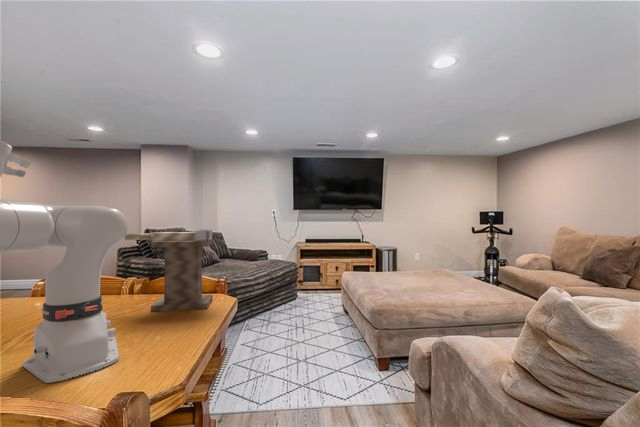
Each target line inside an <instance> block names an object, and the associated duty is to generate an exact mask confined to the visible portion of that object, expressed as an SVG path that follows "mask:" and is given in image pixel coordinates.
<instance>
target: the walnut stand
mask: <svg viewBox="0 0 640 427" xmlns="http://www.w3.org/2000/svg"><path fill="white" fill-rule="evenodd" d="M213 243H214V238H212V239H211V240H209V241H195V240H193V241H151V243H150V244H151V245H150V246H151V248H164V273H163V274H164V278H163V279H164V281H163V282H164V283H163V284H164V285H163V286H164V289H163V290H164V291H163V292H164V296H161V297H160V298H158V299H157V301H155V302H154V303H153V304H151V305H150V312H165V311H166V312H167V311H182V310H183V311H185V310H187V311H188V310H205V308H207V309H208V308H209V306H210V305H211V303H212V301H213V300H212V299H213V298H214V296H213V294H205V295H204V294H203V293H202V292H203V291H202V290H203V247H206V248H207V247H209V246H211V245H213ZM202 294H203V295H202ZM211 300H212V301H211ZM210 302H211V303H210ZM209 304H210V305H209Z"/></svg>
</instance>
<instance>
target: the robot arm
mask: <svg viewBox="0 0 640 427" xmlns="http://www.w3.org/2000/svg"><path fill="white" fill-rule="evenodd" d="M12 150H13V146H12V145H10V144H8V143H7V142H5V141H2V140H0V178H1V177H2V176H3V175H6V176H15V177H18V178H24V177H25V175H26V171H25V170H21V169H16V168H12V167H10V166H8V162H11V163H12V162H13V163H15V164H18V165H19V166H20V167H22V168H25V169H27V168H28V167H30V165H31V161H30V160H27V159H24V158H22V156H20V155H18V154H16V153H13V152H12ZM128 225H129V224H128V220H127V218H126V216H125V215H124V213H123V212H122V211H121V210H119V209H116V208H112V207H108V206H103V205H74V204H73V205H68V204H67V205H63V204H61V205H59V204H55V205H54V204H43V203H39V202H36V201H35V202H34V201H24V200H12V199H0V255H2V254H11V253H12V254H14V253H25V252H34V251H37V250H40V249H46V248H66V250H65V253H64V256H63V258H62V259H61V261H60V262H58V263H57V264H55V265H53V266H52V267H51V268H49V269H48V271H47V272H46V274H45V283H44V284H45V285H44V286H45V292H44V294H45V297H44V298H45V300H44V302H43V304H42V309H41V310H42V319H43V320H42V321H41V323H40V324H38V325H37V326H36V327H35V328H34V331H33V332H34V333H33V349H32V350H33V351H32V356H31V357H28V358H26V359H24V361H22V367H23V368H24V369H26V370H27V371H29V373H31V374H33V376H35V377H37V379H38V380H41V381H42V383H43V382H44V383H45V384H50V383H56V382H61V381H65V380H69V378H70V379H73V378H72V377H74V378H76V376H77V377H80V376H79V375H81V376H83V375H82V374H84V375H86V373H87V374H89V372H90V373H93V372H95V370H96V371H98V370H101V369H103V367H104V368H106V367H108V366H110V365H114V364H115V363H116V362H118V361H119V360H120V355H119V350H118V344H117V339H116V328H115V327H112V328H108V327H110V326H111V324H112V322H111V320H107V313H106V312H104V311H103V309H104V308H103V303H104V302H103V298H102V295H101V273H102V268H103V264H104V262H105V260H106V257H107V256H108V253H110V251H111V249H113V247H115V246H116V245H117V244H119V243H120V242H121V241H122V240H123V239H125V235H126V233H127V231H128V228H129V227H128Z"/></svg>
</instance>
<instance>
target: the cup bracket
mask: <svg viewBox="0 0 640 427" xmlns="http://www.w3.org/2000/svg"><path fill="white" fill-rule="evenodd" d="M194 232H195V241H209V240H211V239H213V229H198V230H197V229H196V230H195V231H194Z"/></svg>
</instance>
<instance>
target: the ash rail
mask: <svg viewBox="0 0 640 427" xmlns="http://www.w3.org/2000/svg"><path fill="white" fill-rule="evenodd" d="M124 240H125V241H143V240H144V241H147V240H148V241H151V242H153V241H193V240H195V231H194V232H193V231H191V232H189V231H188V232H187V231H185V232H184V231H183V232H182V231H181V232H175V231H171V232H170V231H169V232H166V231H165V232H162V231H160V232H158V231H157V232H150V233H149V232H148V233H139V232H138V233H135V232H134V233H133V232H132V233H130V232H129V233H127V232H126V235H125V236H124Z"/></svg>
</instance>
